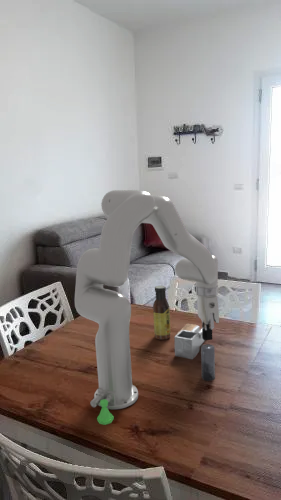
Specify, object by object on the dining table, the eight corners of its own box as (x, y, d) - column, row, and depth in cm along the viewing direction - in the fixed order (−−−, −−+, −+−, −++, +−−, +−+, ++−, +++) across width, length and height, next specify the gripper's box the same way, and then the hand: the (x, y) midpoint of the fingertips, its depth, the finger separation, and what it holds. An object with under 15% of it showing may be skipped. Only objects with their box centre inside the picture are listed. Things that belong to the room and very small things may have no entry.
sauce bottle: (171, 340, 151) (169, 289, 147) (154, 340, 151) (152, 290, 147) (170, 333, 157) (168, 284, 153) (154, 333, 158) (151, 284, 153)
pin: (212, 381, 121) (211, 351, 119) (199, 379, 123) (199, 348, 121) (216, 375, 124) (216, 345, 122) (204, 372, 126) (203, 343, 124)
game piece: (117, 418, 106) (115, 398, 105) (105, 427, 103) (103, 406, 102) (105, 412, 109) (104, 392, 107) (93, 420, 106) (92, 400, 104)
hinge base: (192, 359, 135) (191, 339, 134) (167, 354, 140) (166, 335, 139) (210, 338, 151) (210, 320, 149) (187, 334, 155) (187, 317, 154)
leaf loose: (198, 347, 143) (198, 335, 142) (195, 346, 144) (195, 335, 143) (207, 338, 151) (206, 326, 150) (204, 337, 151) (203, 326, 150)
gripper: (225, 295, 135) (225, 346, 138) (209, 283, 149) (209, 330, 153) (203, 297, 133) (204, 349, 137) (190, 285, 148) (190, 332, 151)
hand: (207, 339), depth 145 cm, fingers closed
